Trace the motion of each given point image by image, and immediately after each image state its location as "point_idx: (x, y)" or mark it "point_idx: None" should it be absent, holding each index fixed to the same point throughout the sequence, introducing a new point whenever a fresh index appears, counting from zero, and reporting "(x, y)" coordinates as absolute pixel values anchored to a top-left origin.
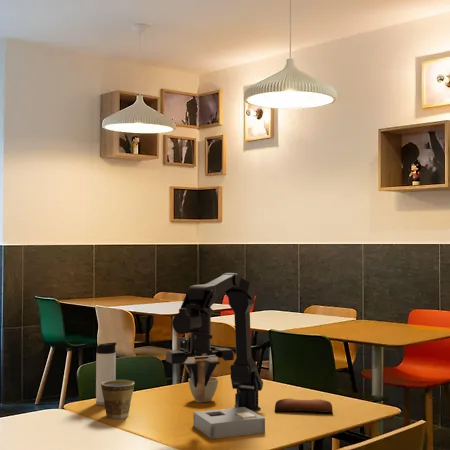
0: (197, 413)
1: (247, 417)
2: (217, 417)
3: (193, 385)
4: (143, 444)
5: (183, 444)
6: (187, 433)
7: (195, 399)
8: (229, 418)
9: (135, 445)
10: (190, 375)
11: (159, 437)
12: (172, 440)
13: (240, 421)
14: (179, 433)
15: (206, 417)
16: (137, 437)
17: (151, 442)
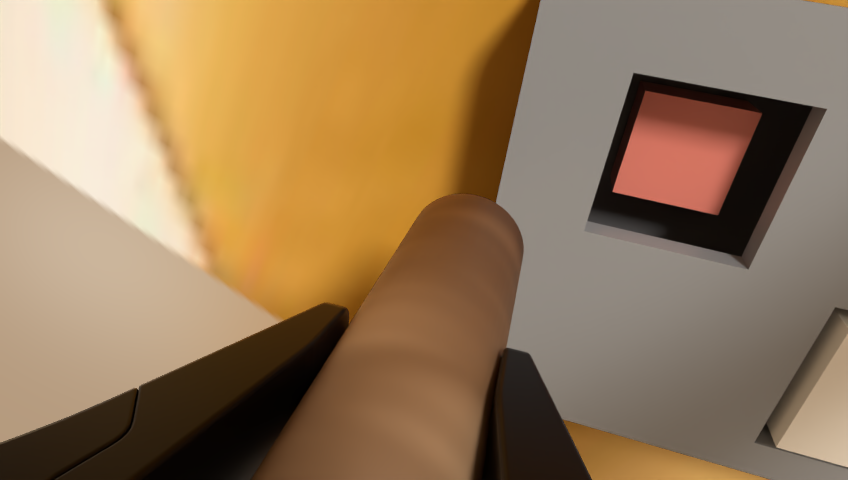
0: (546, 51)
1: (815, 454)
2: (612, 289)
3: (312, 312)
4: (97, 184)
5: (288, 309)
6: (402, 136)
7: (411, 226)
8: (675, 370)
9: (58, 175)
10: (148, 402)
11: (205, 112)
12: (258, 214)
13: (697, 454)
14: (353, 103)
15: (529, 233)
16: (79, 28)
17: (142, 177)
